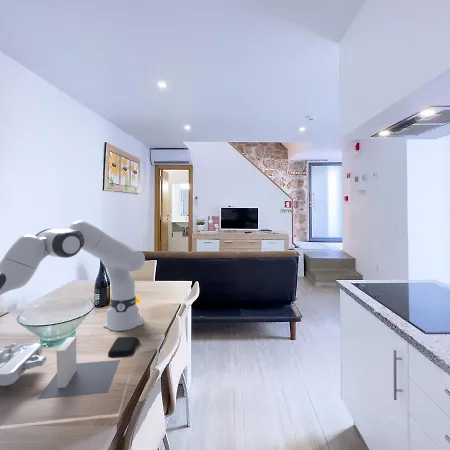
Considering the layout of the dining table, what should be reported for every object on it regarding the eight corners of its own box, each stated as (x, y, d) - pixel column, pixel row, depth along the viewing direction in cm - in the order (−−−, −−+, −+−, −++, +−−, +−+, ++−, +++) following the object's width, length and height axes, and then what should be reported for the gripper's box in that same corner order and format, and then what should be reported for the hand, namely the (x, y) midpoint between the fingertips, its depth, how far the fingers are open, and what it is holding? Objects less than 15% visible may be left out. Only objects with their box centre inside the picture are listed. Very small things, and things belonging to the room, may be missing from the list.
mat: (63, 366, 106) (62, 364, 106) (120, 361, 110) (120, 360, 110) (37, 401, 87) (37, 399, 87) (107, 394, 90) (107, 392, 90)
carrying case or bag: (135, 358, 113) (141, 341, 127) (135, 350, 113) (141, 334, 127) (106, 359, 112) (116, 342, 126) (106, 352, 112) (116, 336, 126)
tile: (68, 370, 102) (67, 337, 102) (76, 370, 103) (75, 336, 102) (56, 387, 92) (55, 350, 92) (65, 387, 93) (65, 350, 92)
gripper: (-25, 372, 84) (28, 368, 86) (14, 341, 104) (56, 338, 106) (-24, 394, 84) (28, 389, 86) (15, 358, 104) (57, 355, 106)
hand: (44, 360), depth 96 cm, fingers closed
